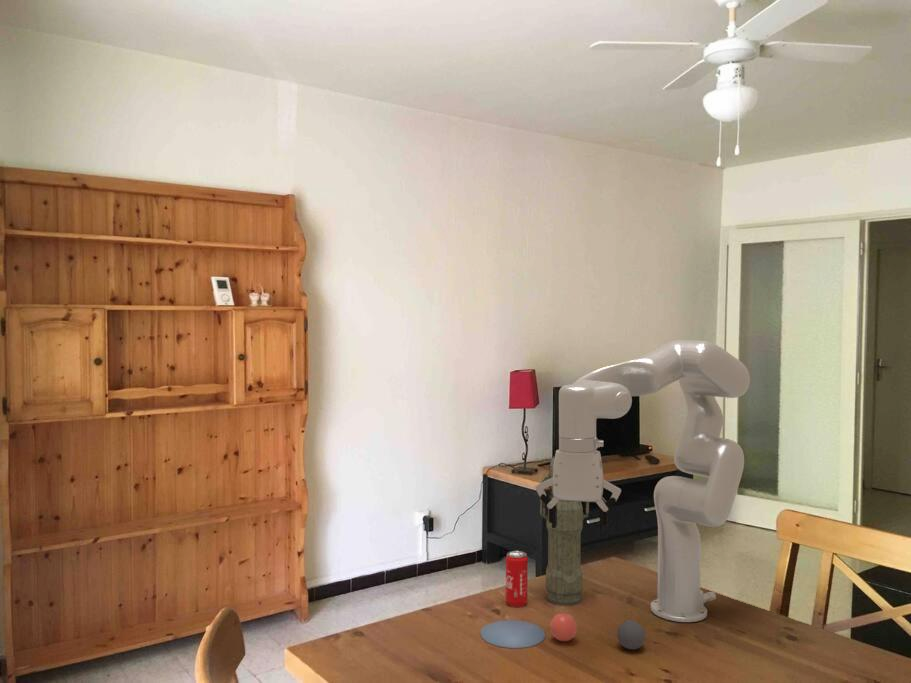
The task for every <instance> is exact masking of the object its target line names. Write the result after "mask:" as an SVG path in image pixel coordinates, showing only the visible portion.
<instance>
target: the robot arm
mask: <svg viewBox="0 0 911 683" xmlns="http://www.w3.org/2000/svg"><path fill="white" fill-rule="evenodd" d="M749 372H750V371H749V370H748V368H747V367H746V365H745V364H744V362H742V361H741V360H740V359H738V358H737V357H735V356H734V355H732V354H731V353H730V352H728V351H727V350H725V349H724V348H722V347H721V346H719V345H718V344H715V343H713V342H711V341H708V340H693V339H692V340H691V339H690V340H689V339H687V340H686V339H678V340H671V341H668V342H666V343H664V344H662V345H661V346H658V347H657V348H654V349H653V350H651V351H649V352H647V353H644V354H643V355H641V356H639V357H638V358H635V359H631V360H627V361H623V362H620V363H617V364H614V365H608V366H605V367H601V368H598V369H596V370H593V371H591V372H588V373H587V374H585V375H582V376H581V377H579V378H577V380H575V381H574V382H572V384H565V385H563V386H561V387H560V389H559V391H558V449H556V450H555V454H554V457H555V460H554V469H553V478H550V479H548V480H546V481H544V482H542V483H540V482H539V483H537V484H536V485H535V491H536V493H537V495H538V496H539V500H540V499H541V500H542V501H543V502H544V503H545V506H546V505H547V507H548V508H549V523H552V528H556V526H557V507H556V503H557V502H558V501H559V500H563V501H581V503H582V502H583V503H584V502H589V503H596V504H597V505H598V507H599V508H600V509H599V531H600V532H604V528H605V527H608V511H609V509H611V507H613V505H614V506H615V504H616V502H617V501H618V499H619V496H620V495H621V493H622V489H621V488H620V487H618V486H616V485H614V484H613V483H611V482H609V481H607V480H605V479H604V471H603V462H602V455H601V451H600V450H597V449H598V448H600V447H601V448H603V447H604V440H603V439H598V437H597V419H609V420H610V419H612V420H613V419H620V418H622V417H623V416H625V415H627V414H628V412H629V411H630V409H631V407H632V402H633V399H632V397H641V396H647V395H652V394H655V393H657V392H659V391H661V390H662V389H664V388H666V387H668V386H669V385H671V384H673V383H674V382H679V386H680V388H681V390H682V393H683V396H684V399H685V403H686V410H687V411H686V415H685V419H684V423H683V426H682V428H681V432H680V436H679V437H678V441H677V443H676V447H675V450H674V454H673V455H674V456H673V462H674V463H673V464H674V465H675V467H676V468H677V469H678V470H679V471H680V472H683V473H686V474H689V475H694V476H698V477H704V478H707V481H702V480H698V479H693V478H689V477H684V476H678V475H671V476H664V477H663V478H661V479H660V480H659V481H657V484H656V485H655V487H654V491H653V502H654V508H655V512H656V519H657V598H656V599H654V600H652V601H651V602H650V610H651V612H652V613H653V614H654V615H656V616H657V617H660V618H662V619H663V620H667V621H671V622H672V621H673V622H679V623H693V622H699V621H702V620H704V619H706V618H707V617H708V609H707V607H706V606H705V605H704V604H706V603H707V602H710V601H714V600H716V599H717V595H716V593H715V591H709V592H705V593H704V591H703V590H702V589H701V562H702V561H701V554H702V553H701V549H702V548H701V546H702V541H701V540H702V539H701V533H700V531H699V530H700V529H699V528H698V526H697V525H701V526H705V527H710V528H717V527H721V526H722V525H723V524H725V523H726V521H727V520H728V518H729V516H730V514H731V512H732V508H733V506H734V502H735V498H736V495H737V493H738V489H739V486H740V484H741V483H740V482H741V479H742V476H743V473H744V472H743V471H744V467H745V456H744V455H745V454H744V451H743V448H742V447H741V446H740V444H739V443H738V442H736V441H734V440H732V439H729V438H724V437H721V433H722V429H723V426H724V414H723V411H722V408H721V407H720V405H719V403H718V401H717V399H716V397H719V398H727V399H734V398H736V399H737V398H740V397H742V396H744V395H745V393H747V391H748V389H749V387H750V383H751V376H750V373H749ZM551 485H553V497H552V498H550V497H549V494H547V493H546V489H547V488H549V486H551ZM544 489H545V491H544ZM604 489H605V490H606V491H607V490H608V491H609V492H611V493H612V494H611V496H610V497H609V498H608V499H607V500H606V499H605V498H604V497H603V495H604Z"/></svg>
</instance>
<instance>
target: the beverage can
mask: <svg viewBox="0 0 911 683" xmlns="http://www.w3.org/2000/svg"><path fill="white" fill-rule="evenodd" d="M527 555H528V554H527V553H526V552H524V551H521V550H520V551H519V550H512V551H508V552H506V557H505V600H506V603H507V605H508V606H510V607H514V608H520V607H524V606H526V604H527V601H528V587H529V586H528V575H529V574H528V568H529V567H528V566H529V565H528V563H529V562H528V556H527Z"/></svg>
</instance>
